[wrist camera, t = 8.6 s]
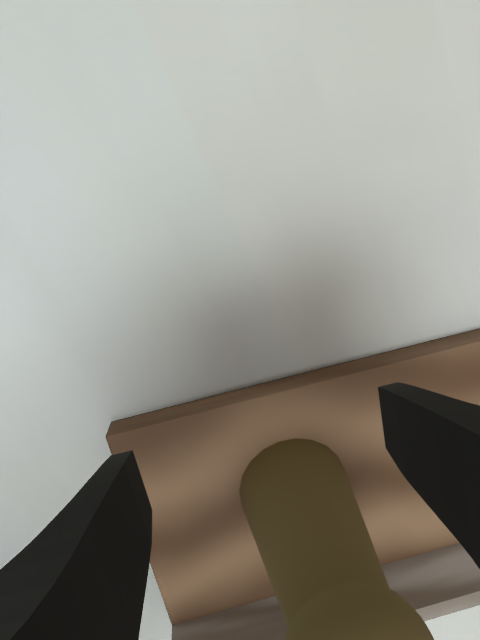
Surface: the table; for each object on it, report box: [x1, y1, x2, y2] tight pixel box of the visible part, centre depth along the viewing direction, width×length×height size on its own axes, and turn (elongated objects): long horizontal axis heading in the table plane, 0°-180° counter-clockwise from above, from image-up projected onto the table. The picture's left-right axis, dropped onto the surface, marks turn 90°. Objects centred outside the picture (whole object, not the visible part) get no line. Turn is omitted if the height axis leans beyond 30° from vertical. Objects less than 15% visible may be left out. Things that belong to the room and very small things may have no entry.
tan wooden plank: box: [106, 329, 480, 640], centre depth 22 cm, size 14×22×4 cm, turn 102°
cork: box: [239, 438, 434, 640], centre depth 17 cm, size 6×6×11 cm
